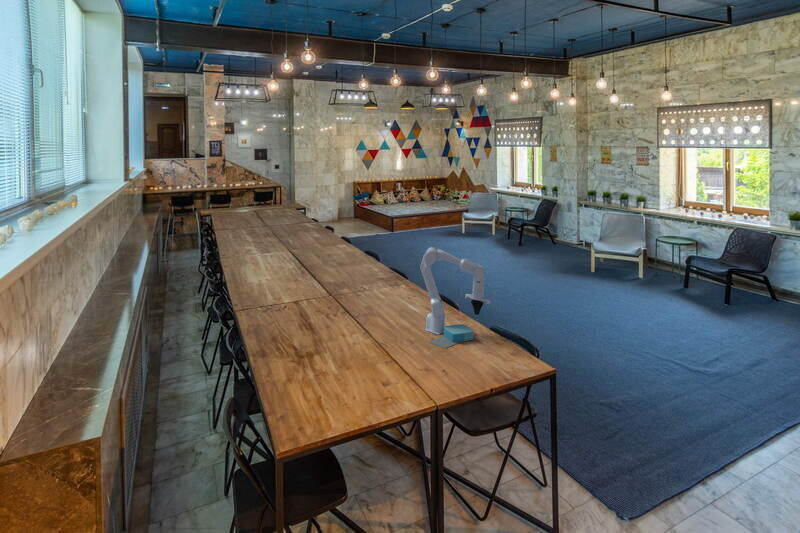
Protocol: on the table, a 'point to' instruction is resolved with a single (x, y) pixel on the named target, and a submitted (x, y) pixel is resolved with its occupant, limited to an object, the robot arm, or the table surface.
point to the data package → (458, 333)
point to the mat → (443, 342)
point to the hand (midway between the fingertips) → (477, 314)
